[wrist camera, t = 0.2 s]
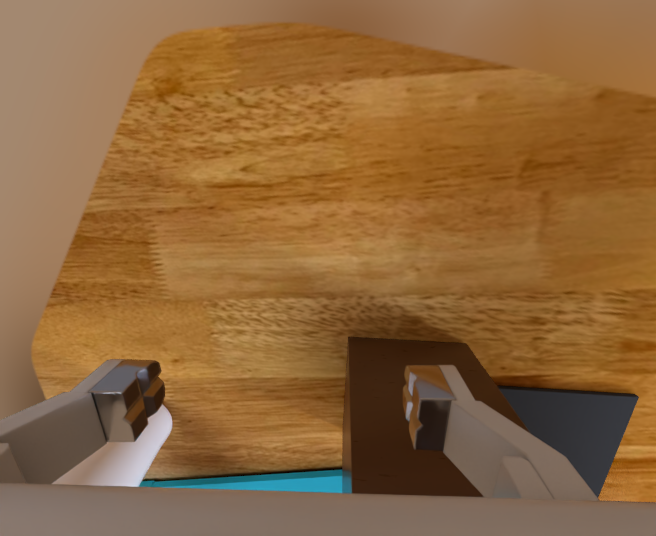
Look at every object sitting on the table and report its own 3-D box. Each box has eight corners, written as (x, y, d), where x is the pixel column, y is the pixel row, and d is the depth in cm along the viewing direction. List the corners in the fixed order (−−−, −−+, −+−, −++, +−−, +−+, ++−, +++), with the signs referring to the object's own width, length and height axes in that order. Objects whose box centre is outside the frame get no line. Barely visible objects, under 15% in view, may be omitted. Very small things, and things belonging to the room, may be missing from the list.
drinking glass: (105, 389, 29) (-125, 596, 15) (172, 385, 29) (1, 595, 14) (126, 444, 31) (-59, 674, 17) (190, 441, 31) (54, 677, 16)
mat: (470, 383, 27) (472, 386, 27) (634, 393, 26) (639, 397, 26) (433, 564, 34) (434, 569, 34) (562, 575, 34) (564, 580, 33)
